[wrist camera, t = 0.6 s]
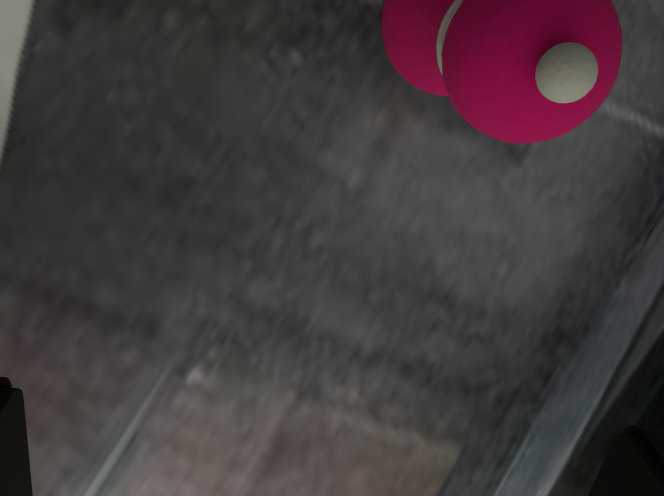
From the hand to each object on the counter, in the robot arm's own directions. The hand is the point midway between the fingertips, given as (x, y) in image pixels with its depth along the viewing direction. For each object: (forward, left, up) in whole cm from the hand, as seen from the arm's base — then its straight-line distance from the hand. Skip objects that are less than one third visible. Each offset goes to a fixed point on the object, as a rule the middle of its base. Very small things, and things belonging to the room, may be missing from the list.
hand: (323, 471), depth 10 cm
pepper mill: (-5, +7, -31) cm, 32 cm away
